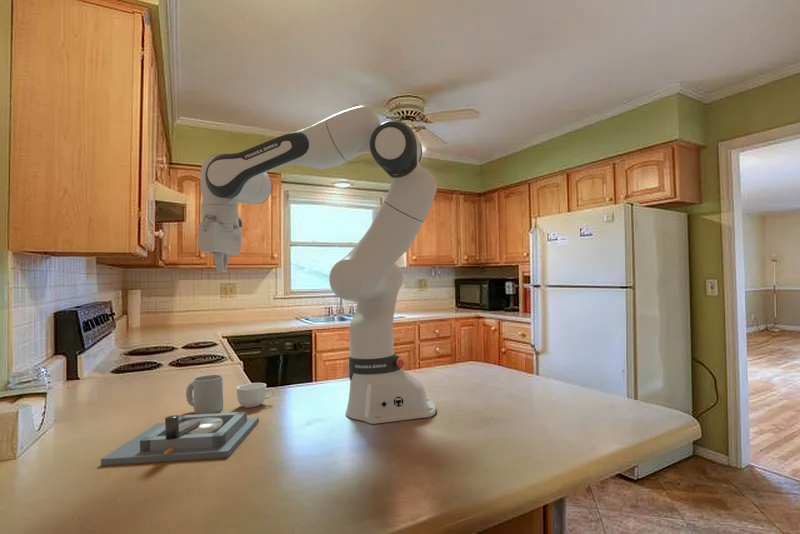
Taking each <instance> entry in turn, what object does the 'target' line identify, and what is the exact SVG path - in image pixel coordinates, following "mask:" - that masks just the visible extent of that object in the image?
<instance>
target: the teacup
mask: <svg viewBox="0 0 800 534" xmlns="http://www.w3.org/2000/svg"><path fill="white" fill-rule="evenodd" d="M270 390H271V391H272V394H271V395H268V396H267V394H268V392H269V391H270ZM274 395H275V389H274V388H273V387H268V388H267V384H266V383H263V382H252V383H251V382H250V383H245V384H241V385H239V386H236V396H237V397H236V398H237V402H238V404H239V405H240V406H241V407H242V408H245V409H252V407H253V408H257V407H260V406H261V405H262V404H263V403H264V402H265V400H267V399H271V398H272V397H273V396H274ZM259 405H260V406H259ZM256 406H257V407H256Z"/></svg>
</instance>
